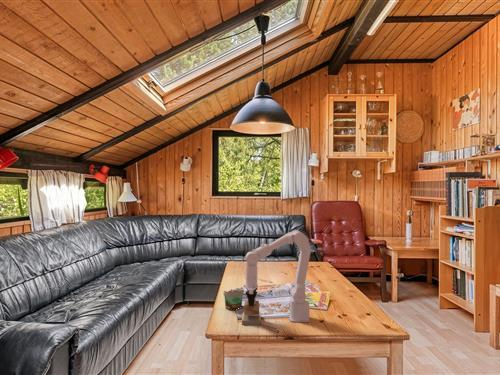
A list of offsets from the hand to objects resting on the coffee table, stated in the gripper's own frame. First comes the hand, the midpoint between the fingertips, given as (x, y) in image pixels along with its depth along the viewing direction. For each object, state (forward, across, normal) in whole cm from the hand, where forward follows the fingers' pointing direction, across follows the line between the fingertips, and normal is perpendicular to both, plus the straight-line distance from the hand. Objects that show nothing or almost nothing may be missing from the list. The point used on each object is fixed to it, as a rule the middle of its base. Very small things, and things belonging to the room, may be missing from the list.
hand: (251, 303), depth 161 cm
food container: (+9, -15, -9) cm, 19 cm away
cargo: (0, 0, 0) cm, 1 cm away
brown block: (+4, 0, 0) cm, 5 cm away
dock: (+8, 0, 0) cm, 8 cm away
